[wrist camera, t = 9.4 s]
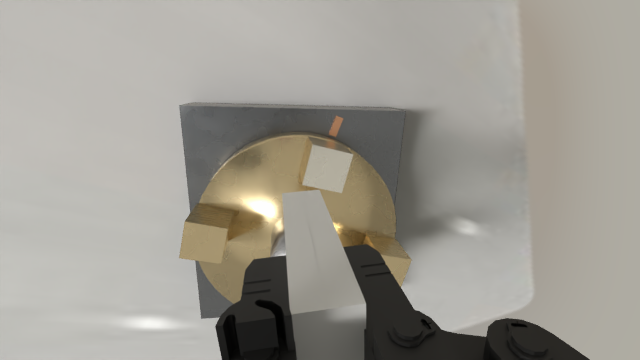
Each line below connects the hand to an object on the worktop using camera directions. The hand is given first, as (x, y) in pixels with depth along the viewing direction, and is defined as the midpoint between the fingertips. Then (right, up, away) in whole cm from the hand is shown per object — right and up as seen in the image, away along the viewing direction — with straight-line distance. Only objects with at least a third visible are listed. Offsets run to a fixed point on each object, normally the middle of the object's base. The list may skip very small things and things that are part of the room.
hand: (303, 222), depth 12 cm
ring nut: (-2, -2, +18) cm, 18 cm away
